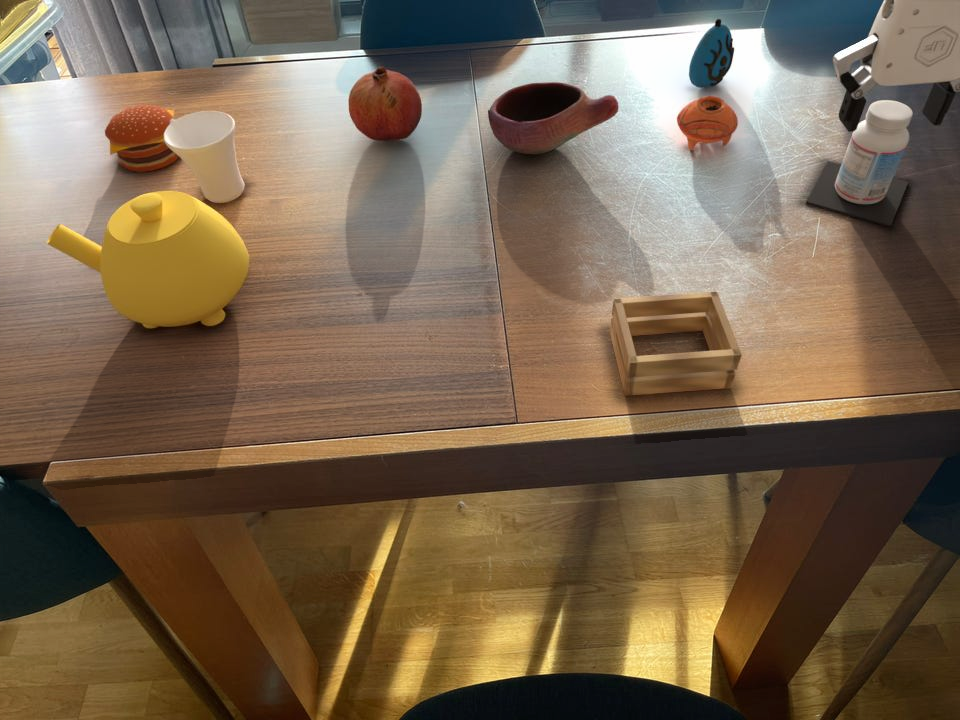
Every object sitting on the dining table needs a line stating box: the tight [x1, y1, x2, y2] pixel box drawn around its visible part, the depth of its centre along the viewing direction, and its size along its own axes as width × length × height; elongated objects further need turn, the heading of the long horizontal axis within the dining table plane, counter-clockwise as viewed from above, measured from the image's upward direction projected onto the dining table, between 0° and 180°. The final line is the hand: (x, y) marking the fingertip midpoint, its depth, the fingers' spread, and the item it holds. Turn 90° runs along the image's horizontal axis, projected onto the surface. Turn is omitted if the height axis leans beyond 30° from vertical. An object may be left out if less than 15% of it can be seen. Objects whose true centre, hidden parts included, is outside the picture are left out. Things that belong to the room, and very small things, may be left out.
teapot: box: [46, 190, 250, 329], centre depth 81 cm, size 20×16×14 cm
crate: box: [609, 290, 743, 397], centre depth 74 cm, size 11×9×5 cm
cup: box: [164, 110, 246, 204], centre depth 96 cm, size 9×9×10 cm
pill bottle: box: [835, 99, 914, 204], centre depth 88 cm, size 6×6×11 cm
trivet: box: [805, 160, 909, 228], centre depth 93 cm, size 10×10×1 cm
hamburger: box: [104, 104, 180, 173], centre depth 104 cm, size 9×10×7 cm
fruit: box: [348, 66, 423, 142], centre depth 103 cm, size 11×10×10 cm
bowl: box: [487, 81, 620, 155], centre depth 101 cm, size 16×13×8 cm
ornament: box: [688, 18, 735, 89], centre depth 108 cm, size 8×5×10 cm, turn 132°
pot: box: [676, 95, 739, 150], centre depth 100 cm, size 8×8×7 cm
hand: (888, 122), depth 85 cm, fingers open, 9 cm apart
